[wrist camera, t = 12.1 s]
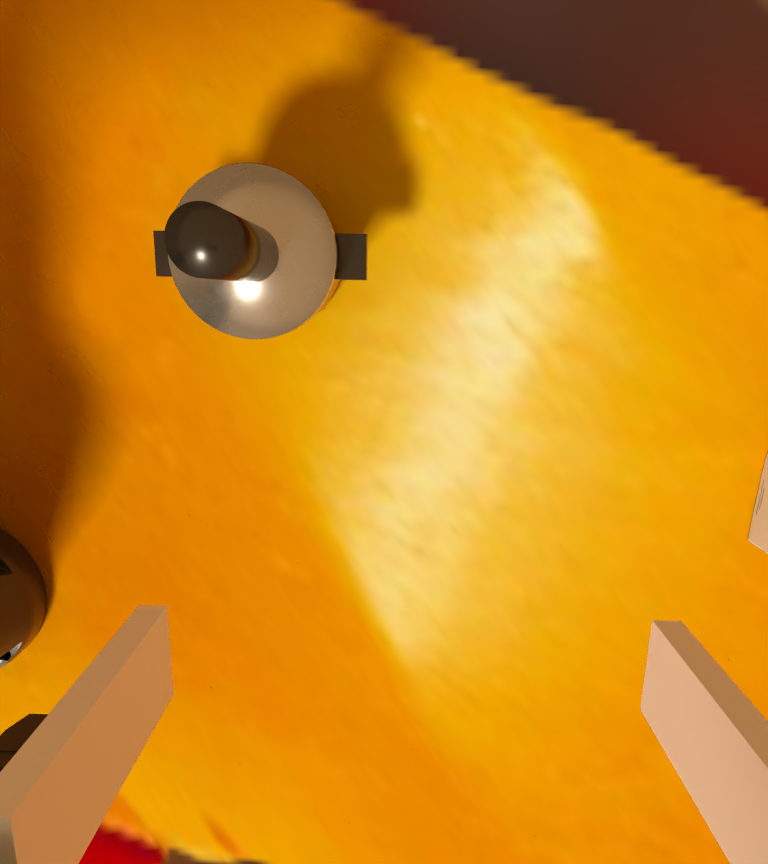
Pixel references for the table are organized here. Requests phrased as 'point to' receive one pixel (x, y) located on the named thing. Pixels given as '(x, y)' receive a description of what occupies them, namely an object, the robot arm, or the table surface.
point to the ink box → (761, 513)
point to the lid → (251, 251)
